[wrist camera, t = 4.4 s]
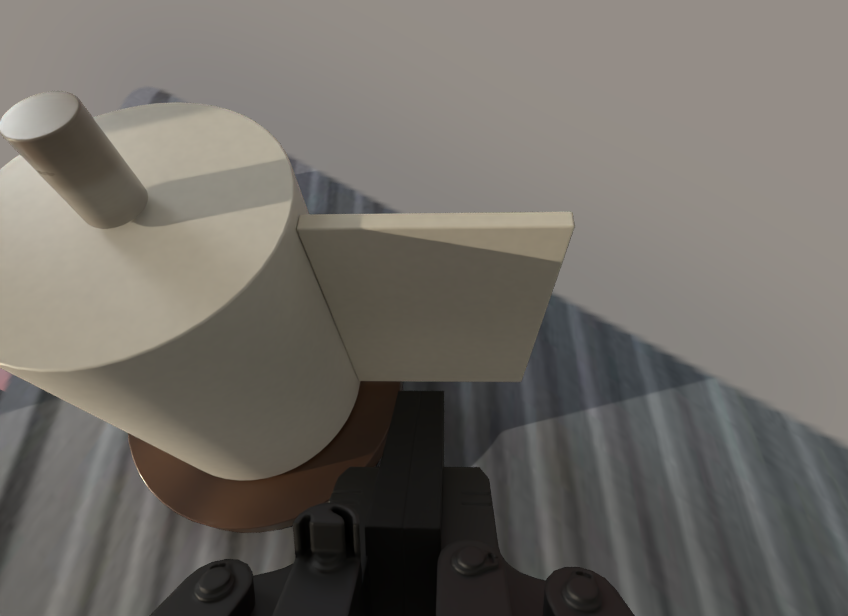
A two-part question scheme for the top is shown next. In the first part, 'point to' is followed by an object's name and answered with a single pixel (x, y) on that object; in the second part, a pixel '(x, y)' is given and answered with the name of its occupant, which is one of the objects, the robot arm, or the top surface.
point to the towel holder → (162, 473)
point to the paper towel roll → (254, 295)
